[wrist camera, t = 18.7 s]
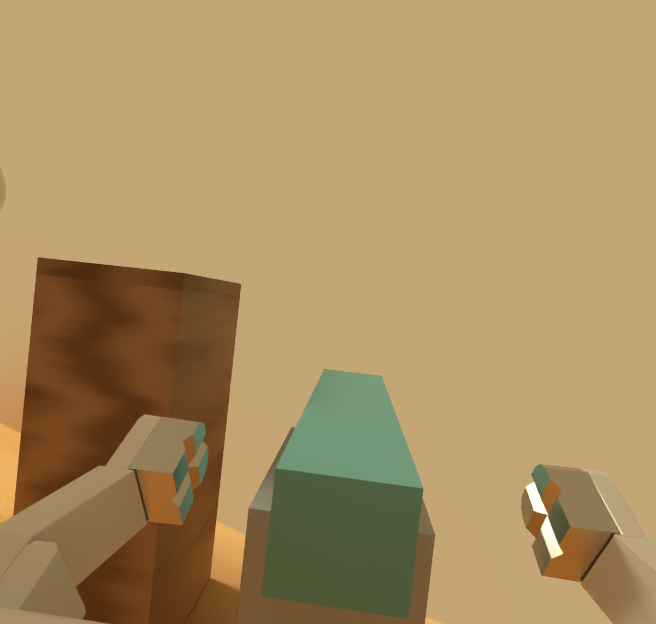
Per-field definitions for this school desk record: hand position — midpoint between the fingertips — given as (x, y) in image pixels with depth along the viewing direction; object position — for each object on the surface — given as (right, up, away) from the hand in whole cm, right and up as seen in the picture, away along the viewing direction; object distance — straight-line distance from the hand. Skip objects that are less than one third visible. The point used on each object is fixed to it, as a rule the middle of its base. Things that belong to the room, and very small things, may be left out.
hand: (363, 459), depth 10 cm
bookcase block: (-16, -19, +21) cm, 33 cm away
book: (0, -5, +12) cm, 13 cm away
